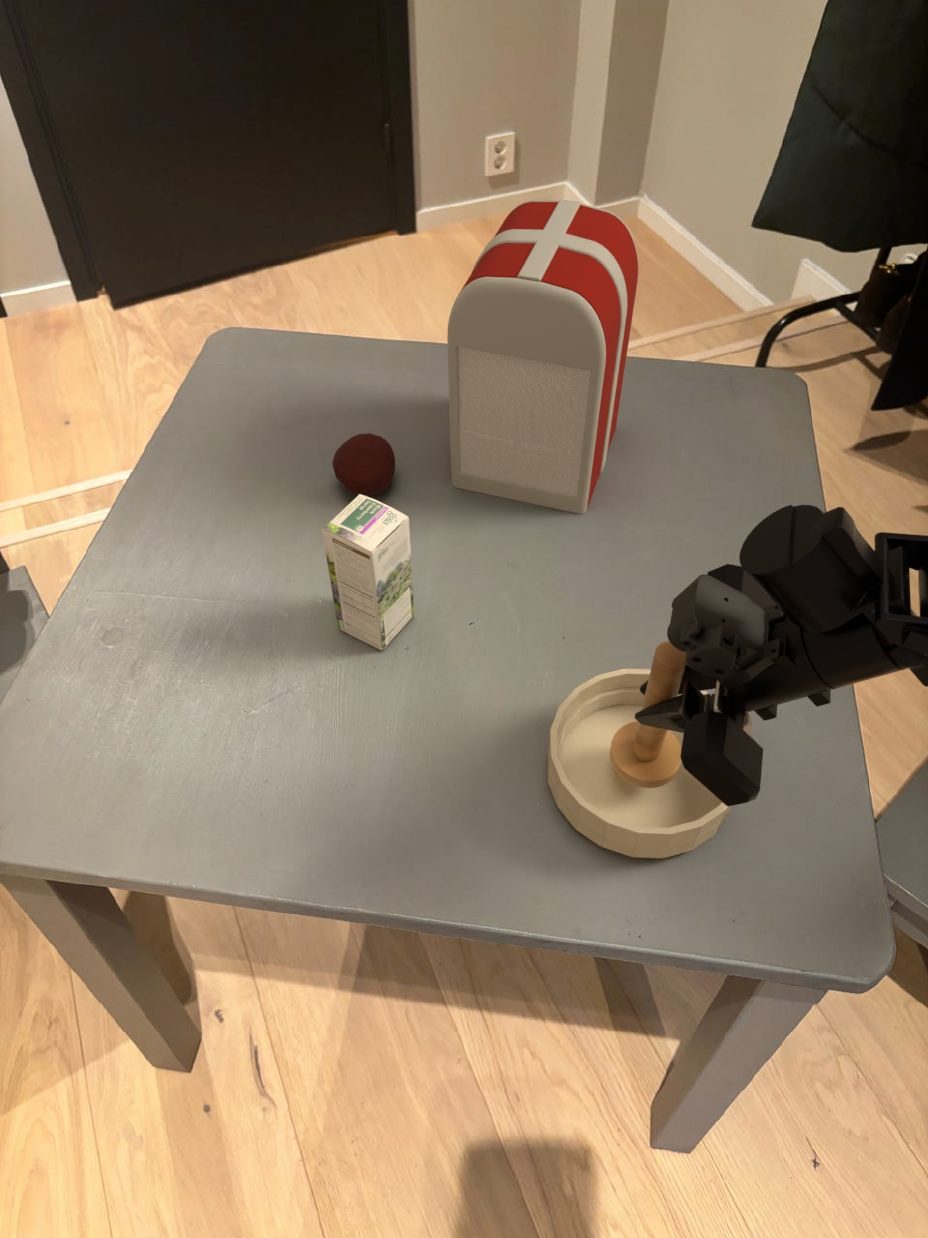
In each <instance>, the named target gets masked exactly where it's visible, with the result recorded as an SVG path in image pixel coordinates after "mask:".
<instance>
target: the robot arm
mask: <svg viewBox="0 0 928 1238" xmlns="http://www.w3.org/2000/svg"><path fill="white" fill-rule="evenodd" d="M738 558H739V565H736V564H731V563H726V564H724V565H721V566H719V567H716V568H714V569H711V570H709V571H707V573H705V574H700V575H699V576H698V577H696V579H694V580H693V581H692V582H691V583H690V584H689V585H688V586H687V587H686V588H684V589H683V590H682V591H681V592H680V593H679V594H678V595H677V596H675V597H674V598H673V600H672V603H671V608H672V610H671V616H670V622H669V625H668V627H667V631H666V635H667V636H666V637H667V639H668V641H670V643H671V644H672V645H673V646H674V647H675V648H677V649H678V650H680V651H685V652H686V658H685V662H686V667H685V670H684V674H683V677H682V681H681V684H680V688H679V691H678V694H681V695H680V696H677V697H675V698H672V699H669V700H666V701H663V702H661V703H658V704H655V705H652V706H650V707H647V708H645V709H643V710H641V711H639V712H637V713H635V717H634V718H635V719H636V720H637V721H638V722H639V723H640V724H642V725H647V726H652V727H656V728H661V729H666V730H671V731H676V732H680V733H684V735H683V742H682V748H681V755H680V758H681V760H682V763H683V766H684V769H686V770H687V771H688V772H689V773H690V774H691V775H692V776H693V777H695V778H696V779H697V780H698V781H699V782H700V783H701V784H702V785H704V786H705V787H706V788H707V789H708V790H709V791H710V792H711V793H713V794H714V795H715V796H716V797H717V798H718V799H719V800H720V801H722V802H723V803H724V804H725V805H726V806H732V805H733V806H737V805H742V804H747V803H750V802H752V801H754V800H756V799H757V797H758V795H759V793H760V791H761V784H762V783H761V782H762V769H763V757H764V748H763V747H762V746H761V745H760V744H759V743H758V742H757V741H756V740H755V739H754V738H753V737H752V729H753V728H752V727H753V722H752V718H751V716H750V714H749V713H750V712H755V713H756V715H757V716H759V718H760V719H761V720H763V721H764V722H765V721H769V720H773V719H776V718H777V717H778V705H782V704H785V703H790V702H793V701H797V700H800V699H804V698H807V699H809V700H810V702H811V703H812V704H813V705H814V706H815V707H817V708H819V707H820V706H824V705H829V704H831V700H832V699H831V698H832V697H831V696H832V695H831V691H832V690H837V689H840V688H843V687H847V686H851V685H854V684H858V683H861V682H864V681H868V680H872V679H875V678H880V677H882V676H886V675H891V674H894V673H897V672H901V671H904V670H908V669H909V670H910V672H911V673H912V675H914V676H915V677H916V679H917V680H918V681H919V682H920V684H921V685H922V686H924V687H927V688H928V535H927V534H925V535H924V534H913V533H899V532H885V531H880V532H877V533H876V534H874V548H873V547H872V546H871V544H869V543H868V541H867V540H866V539H865V537H864V536H863V535H862V533H861V532H860V531H859V530H858V528H857V525H856V523H855V520H854V518H852V516H851V514H849V512H848V511H847V510H846V508H844V507H842V506H837V507H835V508H832V509H830V510H827V511H825V512H823V510H821V509H820V508H819V507H817V506H815V505H812V504H799V505H793V504H789V505H786V506H784V507H780V508H779V509H777V510H775V511H773V512H772V513H770V514H769V515H768V516H766V517H765V518H763V519H762V520H760V522H759V523H758V524H757V525H755V526H754V527H753V529H751V531H750V532H749V533H748V535H747V537H746V538H745V540H744V541H743V542H742V545H741V548H740V550H739V557H738ZM910 570H914V571H917V572H918V573H917V585H918V603H919V604H918V606H919V607H918V608H919V615H917V614H916V613H915V611H914V610H913V609H912V601H911V576H910V574H911V573H910ZM647 684H648V680H647V681H646V682H645V683H644V684H642V685H641V686H640V692H641V693H642V694H643V695H645V692H646V688H647ZM703 690H705V691H708V690H715V692H714V693H712V694H711V693H709V694H705V695H704V694H702V693H701V692H700V691H703ZM733 806H732V807H733Z"/></svg>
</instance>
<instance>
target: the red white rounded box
mask: <svg viewBox="0 0 928 1238" xmlns="http://www.w3.org/2000/svg"><path fill="white" fill-rule="evenodd" d="M639 261H640V260H639V255H638V249H637V245H636V241H635V239H634V236H633V234H632V232H631V230H630V228H629V227H628V225H627V224H626V223H625V222H624V220H623V219H622V218H621V217H619V215H617V214H615V213H614V212H612V211H611V210H607V209H602V208H599V207H596V206H592V205H589V204H586V203H581V202H580V201H576V200H568V199H563V198H561V199H559V200H553V199H552V200H551V199H550V200H549V199H548V200H547V199H544V200H542V199H541V200H538V199H536V200H535V199H532V200H531V199H530V200H527V201H524V202H522V203H520V204H518V205H517V206H516V207H515V208H513V209H512V210H511V211H510V213H509V214H508V215H507V216H506V217H505V219H504V220H503V222H502V224H500V227H499V228H498V230H497V231H496V232H495V235H494V237H493V238H492V239H490V241H489V242H488V243H487V244H486V245H485V247H484V248H483V250H482V252H481V253H480V255H479V257H478V258H477V260H476V261H475V263H474V266H473V268H472V270H471V273H470V274H469V277H468V278H467V280H466V281H465V283H464V285H463V286H462V287H461V289H460V291H459V293H458V294H457V296H456V298H455V300H454V302H453V304H452V307H451V308H450V309H451V310H450V314H449V317H448V323H447V335H446V336H447V337H446V339H447V367H448V368H447V370H448V371H447V375H448V402H449V403H448V405H449V407H448V408H449V438H450V470H451V471H450V475H451V486H452V487H453V488H456V489H461V490H465V491H471V492H474V493H475V492H476V493H480V494H485V495H489V496H493V497H499V498H504V499H507V500H512V501H518V502H522V503H527V504H531V505H536V506H539V507H545V508H549V509H555V510H559V511H563V512H568V513H573V514H578V515H583V514H585V513H586V512H587V510H588V509H589V506H590V503H591V501H592V497H593V495H594V492H595V489H596V485H597V483H598V480H599V477H600V475H601V474H602V473H603V471H604V469H605V465H606V463H607V456H608V452H609V449H610V447H611V444H612V441H613V437H614V435H615V431H616V429H617V426H618V425H617V424H618V418H619V410H620V403H621V397H622V391H623V384H624V377H625V370H626V363H627V357H628V349H629V343H630V337H631V329H632V323H633V318H634V317H633V316H634V309H635V302H636V295H637V290H638V283H639V273H640V271H639V269H640V268H639V267H640V266H639V265H640V263H639Z"/></svg>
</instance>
